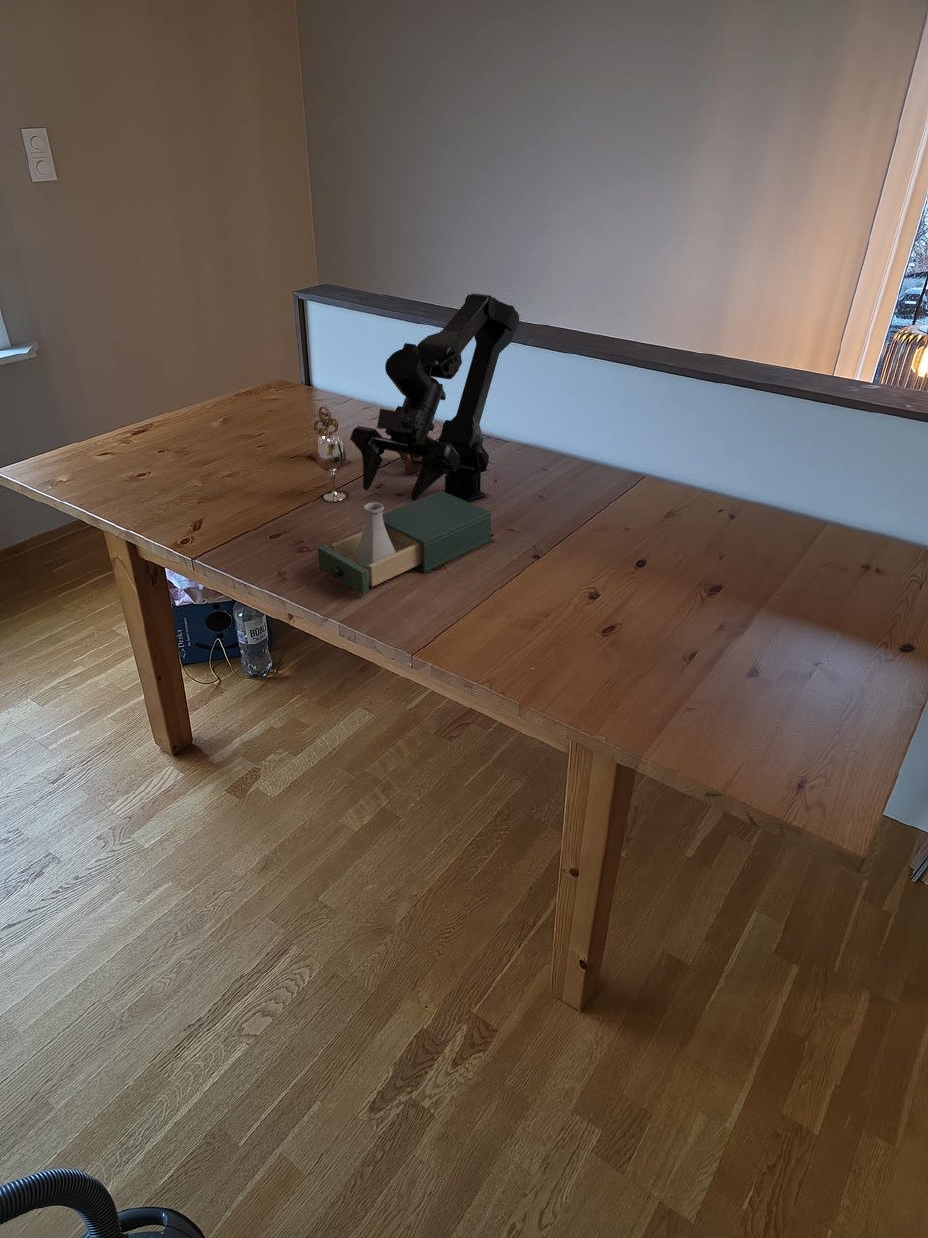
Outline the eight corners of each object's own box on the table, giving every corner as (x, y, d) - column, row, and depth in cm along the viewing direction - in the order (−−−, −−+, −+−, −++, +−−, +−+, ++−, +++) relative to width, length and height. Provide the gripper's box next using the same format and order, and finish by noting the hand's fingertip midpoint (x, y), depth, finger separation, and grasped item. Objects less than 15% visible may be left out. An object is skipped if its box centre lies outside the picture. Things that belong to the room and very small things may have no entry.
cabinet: (424, 572, 137) (424, 542, 133) (375, 546, 144) (374, 517, 141) (490, 541, 146) (491, 511, 143) (441, 518, 154) (441, 490, 151)
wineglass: (343, 504, 159) (338, 446, 152) (316, 501, 160) (310, 443, 153) (352, 492, 164) (348, 435, 157) (325, 489, 165) (320, 433, 158)
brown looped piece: (309, 456, 179) (304, 404, 173) (323, 452, 182) (318, 399, 175) (334, 467, 174) (330, 413, 168) (348, 462, 176) (344, 409, 170)
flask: (406, 561, 136) (404, 507, 131) (371, 574, 132) (367, 520, 127) (381, 545, 141) (379, 493, 135) (347, 558, 137) (342, 504, 131)
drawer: (357, 597, 128) (355, 575, 126) (313, 571, 135) (311, 549, 133) (432, 562, 138) (432, 540, 136) (388, 539, 145) (387, 518, 143)
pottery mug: (448, 463, 178) (448, 439, 170) (427, 494, 174) (426, 471, 167) (402, 441, 180) (400, 417, 173) (380, 471, 177) (377, 447, 169)
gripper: (351, 378, 133) (319, 464, 130) (452, 395, 126) (420, 486, 124) (378, 410, 143) (349, 491, 141) (473, 427, 136) (444, 512, 134)
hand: (388, 494), depth 134 cm, fingers open, 9 cm apart
